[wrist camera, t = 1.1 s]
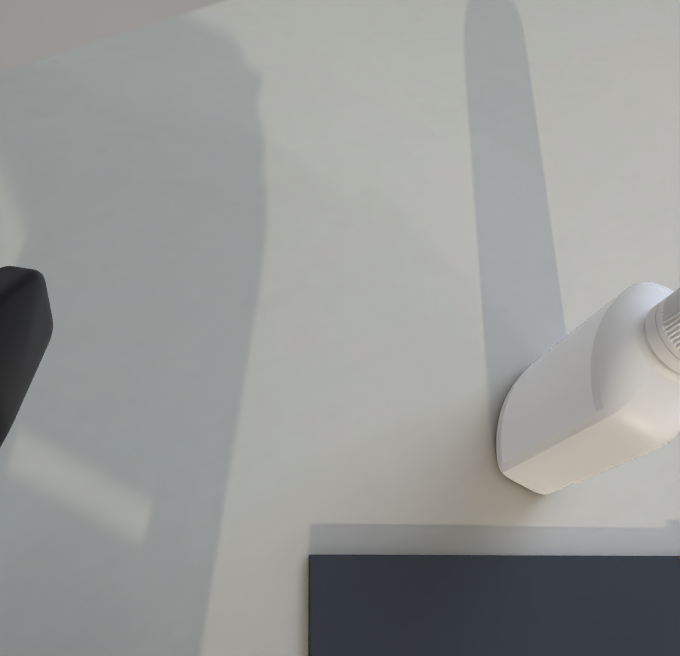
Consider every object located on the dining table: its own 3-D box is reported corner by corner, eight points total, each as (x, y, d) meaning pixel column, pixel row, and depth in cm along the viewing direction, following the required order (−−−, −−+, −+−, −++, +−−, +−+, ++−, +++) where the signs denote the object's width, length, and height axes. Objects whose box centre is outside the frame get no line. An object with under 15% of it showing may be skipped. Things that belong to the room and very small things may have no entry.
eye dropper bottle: (454, 419, 25) (647, 260, 15) (546, 354, 27) (768, 176, 17) (525, 512, 24) (787, 411, 14) (614, 435, 26) (896, 300, 16)
